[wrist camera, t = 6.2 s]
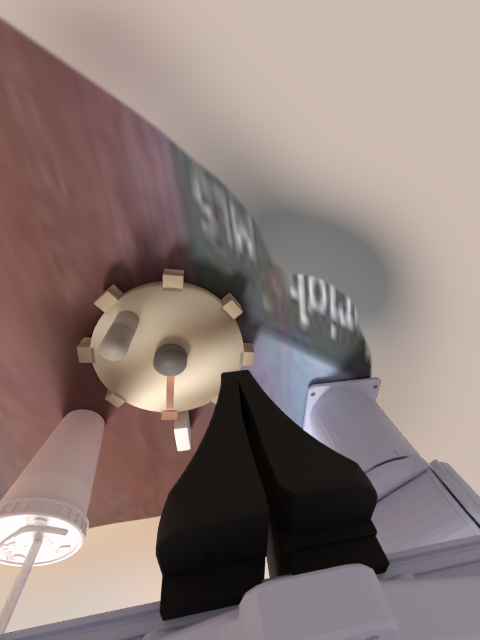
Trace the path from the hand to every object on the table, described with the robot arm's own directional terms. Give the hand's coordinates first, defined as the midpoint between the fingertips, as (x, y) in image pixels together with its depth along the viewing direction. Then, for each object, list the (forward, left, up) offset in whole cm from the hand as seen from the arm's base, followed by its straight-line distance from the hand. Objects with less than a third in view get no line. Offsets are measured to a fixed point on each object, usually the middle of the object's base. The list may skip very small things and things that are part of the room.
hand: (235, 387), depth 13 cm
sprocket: (-4, +4, -10) cm, 12 cm away
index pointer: (-13, +4, -10) cm, 17 cm away
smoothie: (-11, +14, -11) cm, 21 cm away
